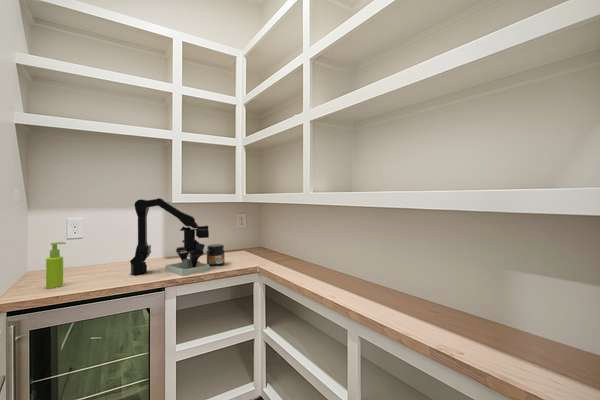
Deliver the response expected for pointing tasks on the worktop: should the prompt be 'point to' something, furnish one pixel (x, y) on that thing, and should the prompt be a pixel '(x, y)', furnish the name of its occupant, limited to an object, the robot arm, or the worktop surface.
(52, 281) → the soap dispenser
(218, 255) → the supplement container
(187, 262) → the connector
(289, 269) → the worktop surface
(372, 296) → the worktop surface
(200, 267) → the bay
